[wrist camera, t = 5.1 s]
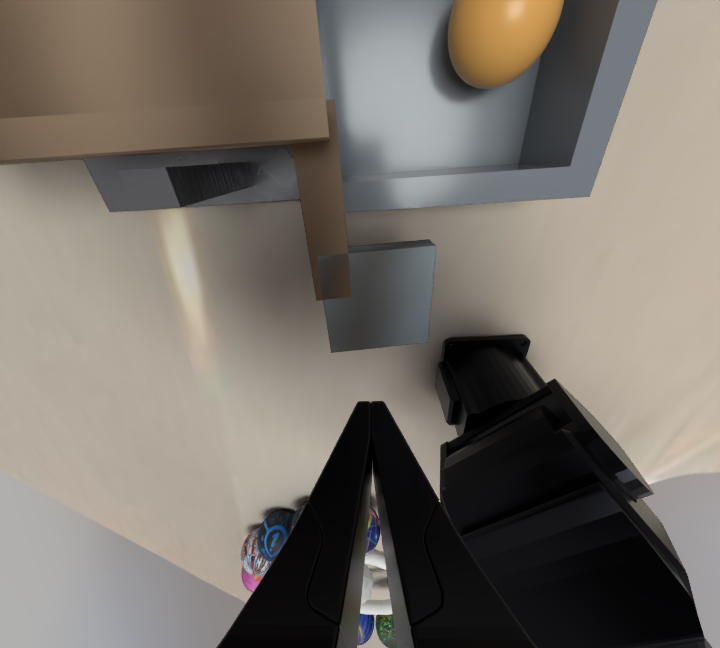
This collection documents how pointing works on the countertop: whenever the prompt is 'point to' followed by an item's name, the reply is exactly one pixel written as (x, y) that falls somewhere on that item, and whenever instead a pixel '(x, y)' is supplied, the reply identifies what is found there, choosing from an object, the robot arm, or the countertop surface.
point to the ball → (499, 38)
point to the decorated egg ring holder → (276, 530)
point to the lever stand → (196, 178)
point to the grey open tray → (471, 105)
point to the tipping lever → (208, 123)
